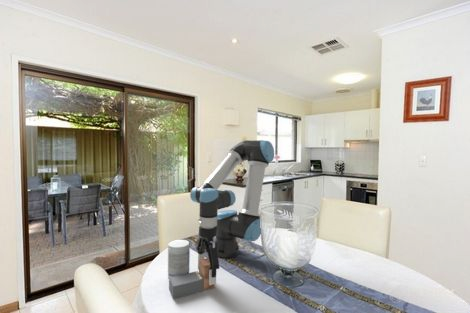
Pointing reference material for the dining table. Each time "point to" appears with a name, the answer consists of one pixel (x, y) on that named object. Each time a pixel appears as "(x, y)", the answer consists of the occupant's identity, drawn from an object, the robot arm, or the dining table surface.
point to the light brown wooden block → (205, 273)
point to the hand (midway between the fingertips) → (206, 276)
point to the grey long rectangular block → (185, 284)
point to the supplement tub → (178, 257)
